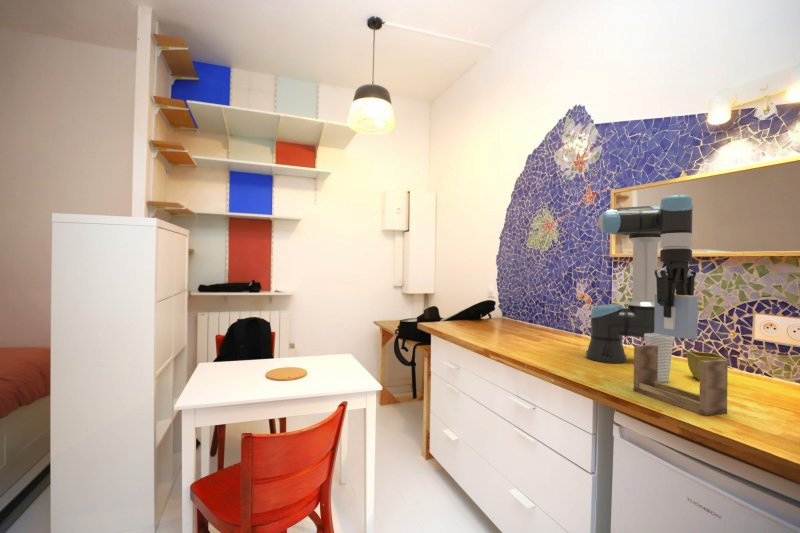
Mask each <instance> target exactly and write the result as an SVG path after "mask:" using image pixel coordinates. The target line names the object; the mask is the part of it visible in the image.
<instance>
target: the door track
mask: <svg viewBox="0 0 800 533" xmlns="http://www.w3.org/2000/svg"><path fill="white" fill-rule="evenodd" d="M728 364H729V363H728V359H727V360H722V359H719V360H705V361H700V380H699V394H697V393H694V392H691V391H687V390H685V389H681V388H679V387H674V386H671V385H668V384H665V383H663V382H658V346H656V345H645V344H644V345H633V392H636V393H639V394H642V395H645V396H647V395H648V396H647V397H650V398H653V397H654V399H656V400H659V401H662V402H664V401H665V403H667V402H668V404H670V403H671V404H670V405H673V404H674V405H673V406H676V407H678V406H679V407H678V408H681V407H682V409H684V408H685V409H684V410H687V409H688V410H687V411H690V412H692V411H693V413H695V414H699V415H701V416H704V417H710V416H717V415H723V414H728V373H729V372H728V368H729V367H728Z"/></svg>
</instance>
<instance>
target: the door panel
mask: <svg viewBox="0 0 800 533" xmlns="http://www.w3.org/2000/svg"><path fill="white" fill-rule="evenodd" d="M698 297H699V296H698V295H694V296H690V295H676V294H675V295H674V302H673V306H672V307H675V330H672V329H665V328H664V316H663V314H664V313H663V312H664V307H663V306H660V304H658V303H657V294H655V318H654V333H655V334H661V335H667V336H673V337H674V338H679V339H685V340H698V328H699V327H698V326H699V324H698V316H699V315H698V313H699V312H698V311H699V310H698V309H699V306H698V304H699V303H698V302H699V298H698ZM668 302H669V301H668Z"/></svg>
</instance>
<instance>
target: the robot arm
mask: <svg viewBox="0 0 800 533" xmlns="http://www.w3.org/2000/svg"><path fill="white" fill-rule="evenodd" d="M659 205H660V206H659ZM659 205H645V206H643V205H642V206H641V205H640V206H629V207H628V206H627V207H626V206H624V207H616V208H611V209H608V210H605V211H604V212H602V213H601V214H600V215H599V216H598V219H597V226H598V228H599V229H600V230H601V232H602V233H604V234H610V235H616V236H628V240H629V241H630V242H631V243H632V298H631V299H632V300H631V301H630V302H629V303H628V305H627V308H625V307H624V306H623V305H622V304H617V303H616V304H602V305H601V304H600V305H595V306H593V307H592V308H591V312H590V341H589V344H588V348H587V349H586V353H585V357H586V358H587V359H588V360H591V361H595V362H599V363H608V364H624V363H627V361H628V360H627V354H626V353H625V349H624V345H623V337H632V338H633V337H634V338H644V334H646V333H654V318H655V294H657V303H658V304H660V306H663V307H664V312H663V313H664V314H663V316H664V328H665V329H672V330H675V307H672V306H673V302H674V295H690V296H695V279H696V276H697V271H695V270H690V267H689V263H691V262H692V261H693V250H692V249H691V248H692V247H693V209H694V206H693V198H692V196H691V195H687V194H675V195H673V194H672V195H668V196H663V197H662V198H661V199H660V204H659ZM659 242H660V248H662V249H661V250H659ZM659 255H660V256H659ZM658 256H659V257H658ZM658 260H659V261H660V262H661V263H662V266H661V268H660V269H659V268H658V265H659V264H658V263H659V261H658ZM668 301H669V302H668ZM654 334H655V333H654Z"/></svg>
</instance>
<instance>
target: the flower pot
mask: <svg viewBox="0 0 800 533" xmlns="http://www.w3.org/2000/svg"><path fill="white" fill-rule="evenodd" d="M686 357H687V358H686V359H687V365H688V369H689V372H690V373H691V374H692V376H693V378H695V379H697V380H698V381H700V361H705V360H719V359H722V360H727V361H728V358H727V357H725V356H722V355H720V354H717V353H715V352H703V351H691V350H690V351H689V350H686Z"/></svg>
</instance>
